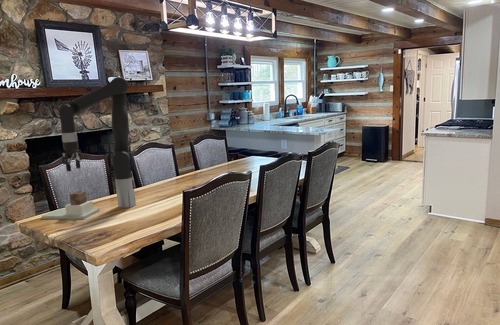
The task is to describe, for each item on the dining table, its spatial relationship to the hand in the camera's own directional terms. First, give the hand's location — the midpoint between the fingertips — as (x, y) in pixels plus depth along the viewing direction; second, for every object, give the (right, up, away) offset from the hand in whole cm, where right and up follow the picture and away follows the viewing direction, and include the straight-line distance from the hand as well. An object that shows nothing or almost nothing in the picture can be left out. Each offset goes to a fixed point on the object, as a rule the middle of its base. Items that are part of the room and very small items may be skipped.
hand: (73, 169), depth 212 cm
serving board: (-2, -25, +1) cm, 26 cm away
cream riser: (+3, -24, +1) cm, 24 cm away
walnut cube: (+3, -19, 0) cm, 19 cm away
